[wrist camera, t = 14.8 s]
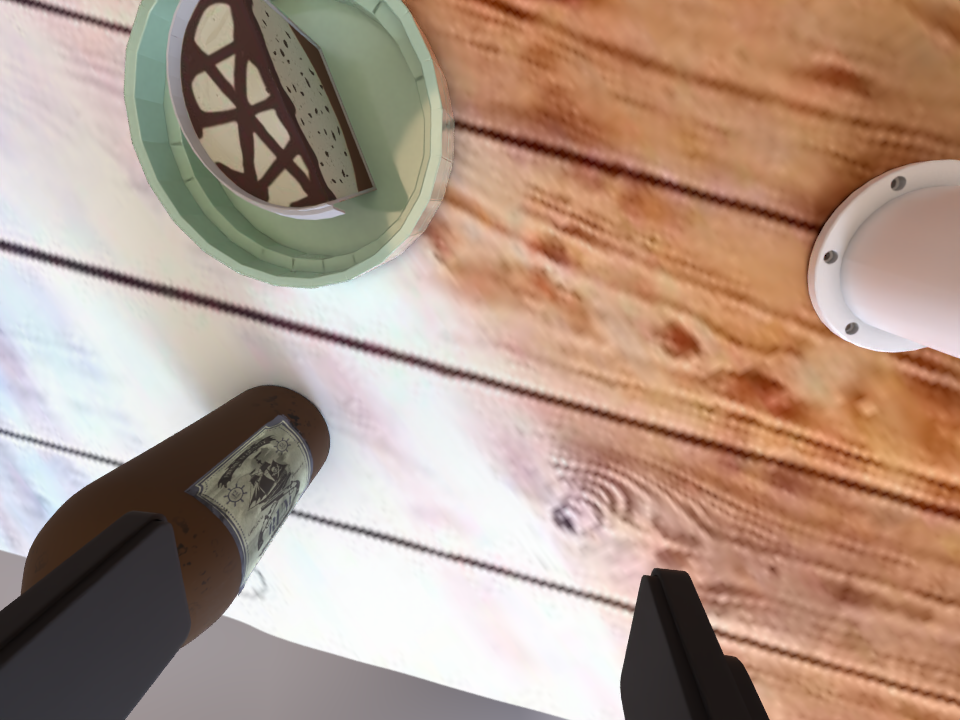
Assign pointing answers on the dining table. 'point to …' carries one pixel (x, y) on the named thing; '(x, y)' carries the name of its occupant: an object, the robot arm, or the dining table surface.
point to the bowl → (374, 118)
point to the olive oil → (204, 495)
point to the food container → (263, 108)
